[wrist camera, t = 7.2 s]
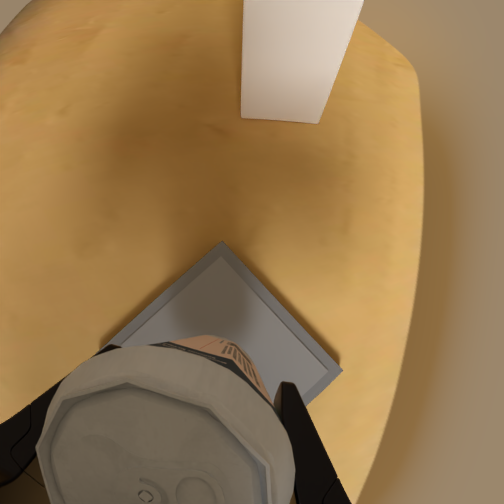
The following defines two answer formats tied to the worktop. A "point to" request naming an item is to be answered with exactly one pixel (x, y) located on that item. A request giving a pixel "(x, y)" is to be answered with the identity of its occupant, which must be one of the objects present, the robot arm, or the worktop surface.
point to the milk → (293, 56)
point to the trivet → (235, 323)
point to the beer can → (166, 429)
